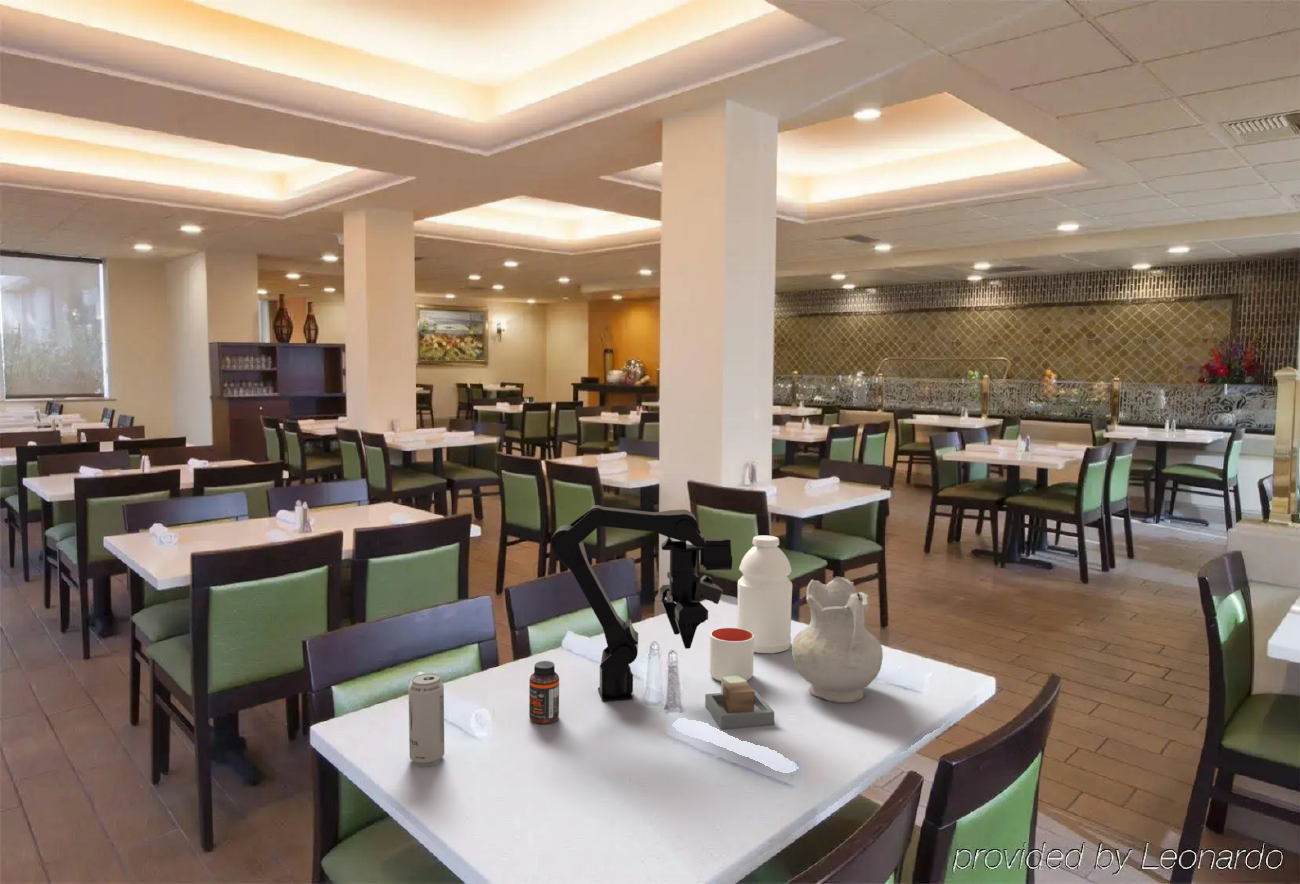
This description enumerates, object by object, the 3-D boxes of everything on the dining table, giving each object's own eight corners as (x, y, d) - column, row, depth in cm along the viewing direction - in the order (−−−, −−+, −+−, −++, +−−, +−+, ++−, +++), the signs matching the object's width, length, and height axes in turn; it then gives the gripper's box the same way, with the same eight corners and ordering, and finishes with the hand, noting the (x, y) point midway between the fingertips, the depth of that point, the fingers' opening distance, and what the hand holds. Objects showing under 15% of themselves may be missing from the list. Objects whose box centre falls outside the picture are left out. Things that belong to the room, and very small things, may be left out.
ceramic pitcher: (905, 712, 168) (917, 595, 166) (826, 719, 160) (838, 597, 159) (843, 676, 188) (854, 571, 187) (771, 681, 181) (781, 572, 179)
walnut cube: (722, 707, 165) (723, 683, 165) (745, 705, 166) (746, 681, 166) (730, 717, 160) (730, 693, 160) (754, 715, 161) (754, 691, 161)
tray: (721, 729, 157) (721, 716, 156) (705, 706, 167) (705, 694, 167) (774, 724, 159) (774, 711, 159) (754, 701, 170) (755, 690, 170)
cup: (755, 685, 179) (756, 642, 178) (710, 684, 179) (711, 641, 178) (750, 669, 189) (751, 627, 188) (708, 668, 189) (709, 627, 188)
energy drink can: (408, 754, 145) (407, 674, 144) (442, 749, 147) (441, 670, 146) (410, 770, 139) (409, 686, 138) (446, 764, 141) (445, 682, 140)
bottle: (729, 637, 211) (731, 532, 209) (779, 634, 214) (782, 531, 211) (745, 655, 197) (748, 544, 195) (798, 652, 200) (802, 542, 197)
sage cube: (731, 702, 170) (731, 684, 169) (721, 695, 173) (721, 677, 173) (746, 698, 172) (747, 680, 171) (736, 692, 175) (736, 674, 175)
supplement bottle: (523, 721, 159) (522, 665, 158) (540, 710, 165) (540, 656, 164) (547, 727, 157) (547, 671, 156) (564, 716, 162) (565, 661, 161)
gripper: (732, 579, 163) (731, 653, 165) (706, 558, 181) (705, 625, 183) (680, 581, 161) (679, 657, 162) (659, 560, 179) (658, 628, 180)
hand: (682, 641), depth 172 cm, fingers open, 9 cm apart
